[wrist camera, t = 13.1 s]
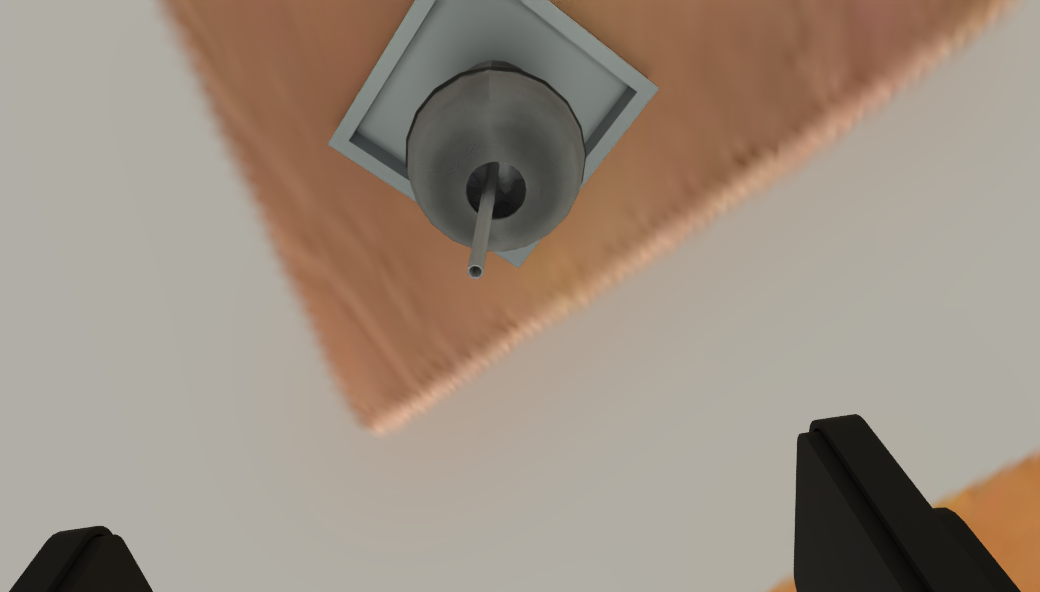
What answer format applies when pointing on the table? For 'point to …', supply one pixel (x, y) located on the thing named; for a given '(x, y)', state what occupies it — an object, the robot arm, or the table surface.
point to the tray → (480, 38)
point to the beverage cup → (495, 159)
